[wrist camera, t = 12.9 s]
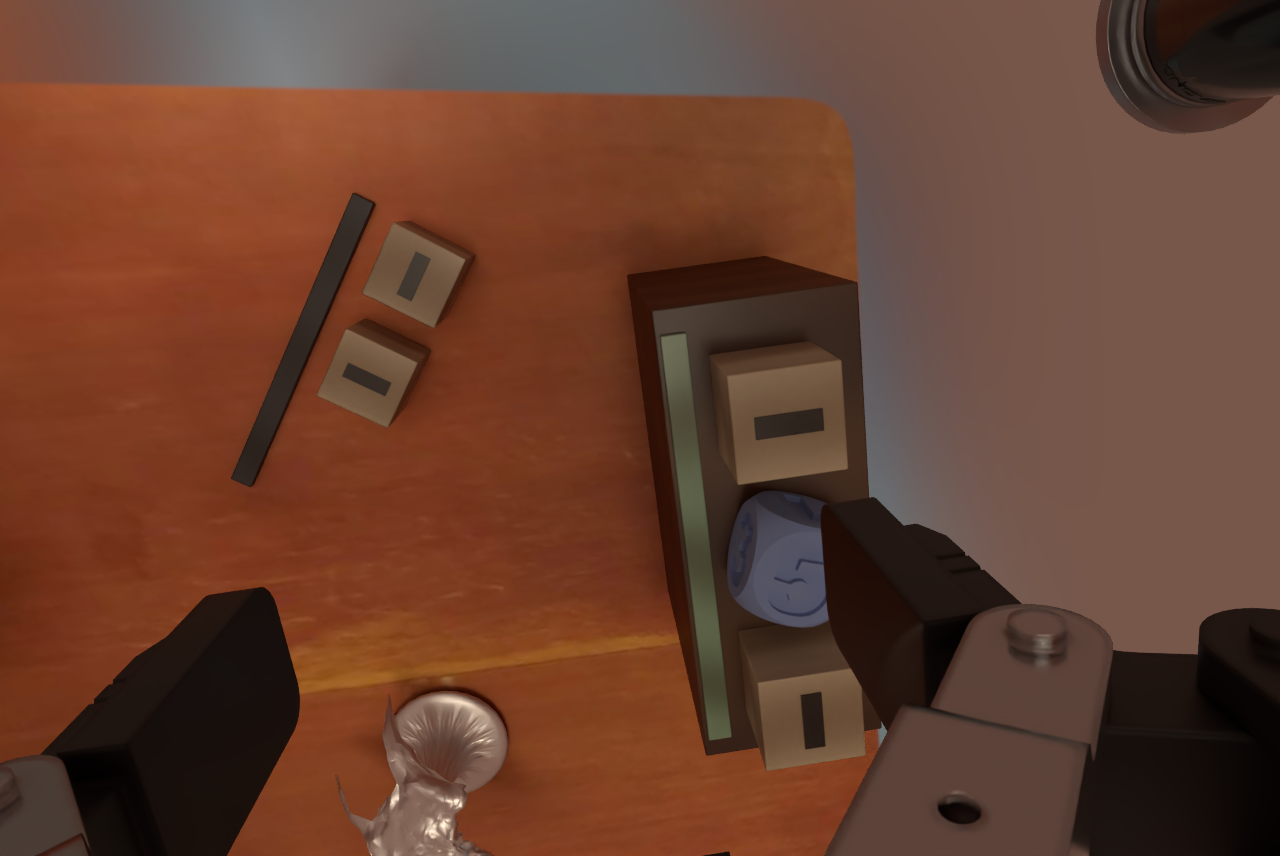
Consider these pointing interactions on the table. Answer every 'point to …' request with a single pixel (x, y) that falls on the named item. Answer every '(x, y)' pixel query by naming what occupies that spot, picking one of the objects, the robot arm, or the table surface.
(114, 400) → the table surface
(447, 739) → the figurine
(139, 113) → the table surface
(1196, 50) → the robot arm
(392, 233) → the beige cubes with bar
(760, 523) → the decorative dice
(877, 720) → the dark brown block
